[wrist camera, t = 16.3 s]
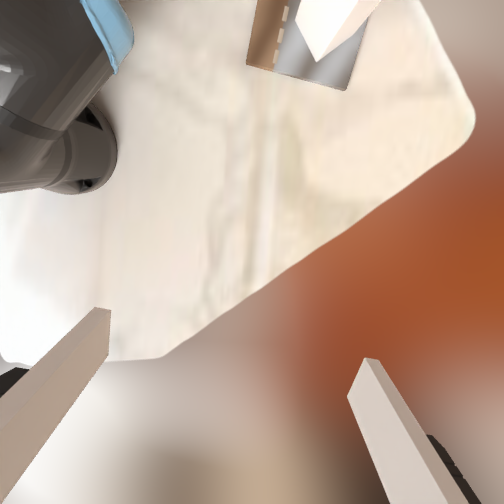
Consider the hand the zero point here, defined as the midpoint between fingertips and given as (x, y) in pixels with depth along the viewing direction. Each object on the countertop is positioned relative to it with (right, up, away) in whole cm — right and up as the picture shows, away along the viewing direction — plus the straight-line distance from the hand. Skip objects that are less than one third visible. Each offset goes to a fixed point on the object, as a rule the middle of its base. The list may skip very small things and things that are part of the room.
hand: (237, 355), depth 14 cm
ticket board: (+9, +37, +24) cm, 45 cm away
